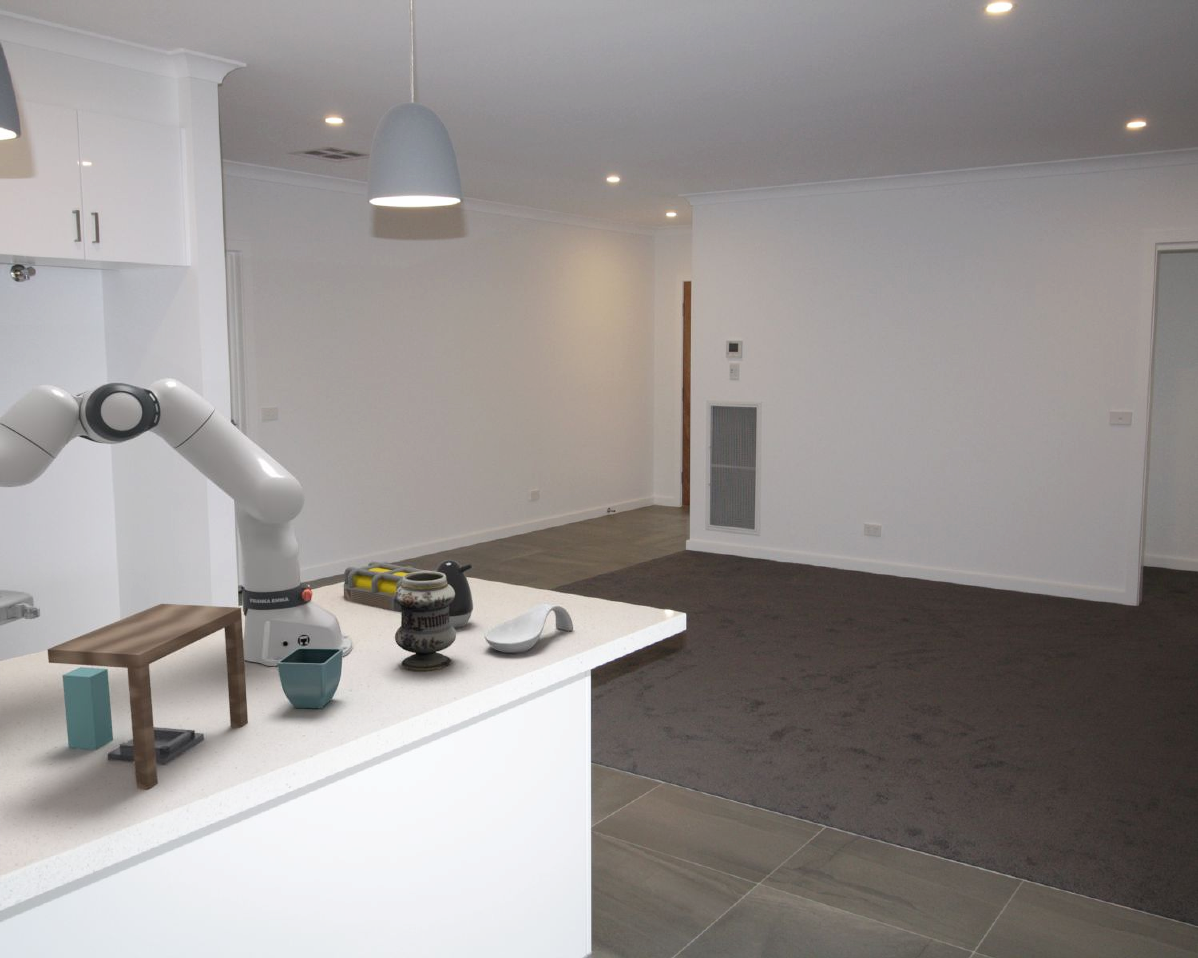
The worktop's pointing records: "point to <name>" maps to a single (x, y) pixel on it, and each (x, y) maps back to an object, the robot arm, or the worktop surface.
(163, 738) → the seat cradle
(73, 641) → the overhang shelf
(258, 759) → the worktop surface
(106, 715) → the teal box
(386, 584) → the cage light
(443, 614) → the apothecary jar
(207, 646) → the worktop surface
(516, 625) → the spoon rest
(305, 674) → the flower pot
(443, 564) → the black rounded upright piece
